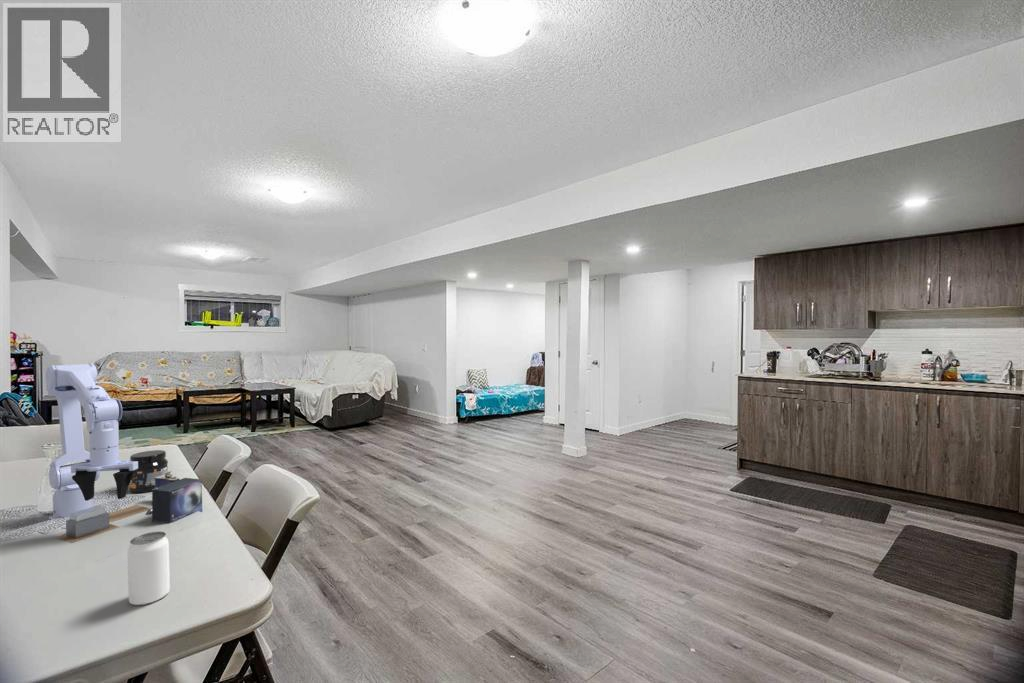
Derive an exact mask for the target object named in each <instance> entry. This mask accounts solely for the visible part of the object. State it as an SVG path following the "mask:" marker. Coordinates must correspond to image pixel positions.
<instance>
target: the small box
mask: <svg viewBox="0 0 1024 683" xmlns="http://www.w3.org/2000/svg"><path fill="white" fill-rule="evenodd" d="M179 479H180V478H179ZM151 495H152V496H151V498H152V499H151V500H152V502H151V509H152V514H151V518H152V520H151V522H152V523H160V524H161V523H162V524H171V523H174V522H178V521H179V520H181V519H184V518H186V517H189V516H191V515H193V514H195V513H197V512H198V513H199V512H200V513H203V479H201V478H200V479H199V478H189V477H183V478H181V479H180V480H177V481H174V482H171V483H169V484H166V485H163V486H160V487H157V488H154V489H152V491H151Z"/></svg>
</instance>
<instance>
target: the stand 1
mask: <svg viewBox="0 0 1024 683" xmlns="http://www.w3.org/2000/svg"><path fill="white" fill-rule="evenodd" d="M109 527H110V528H108V529H105V530H102V531H99V532H96V533H93V534H90V535H87V536H84V537H81V538H78V539H74V538H71V537H68V536H66V533H65V534H62V535H57V536H55V537H54V538H56V539H59V540H62V541H65V542H68V543H71V544H73V543H76V542H80V541H82V540H85V539H88V538H92V537H93V536H97V535H101V534H104V533H107V532H109V531H113V530H116V529H119V528H120V526H118V525H114V524H112V523H109Z"/></svg>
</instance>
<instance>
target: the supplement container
mask: <svg viewBox="0 0 1024 683" xmlns="http://www.w3.org/2000/svg"><path fill="white" fill-rule="evenodd" d="M166 457H167V452H166V451H165V450H163V449H162V450H161V449H157V450H147V451H145V450H144V451H141V452H137V453H133V454H131V455H130V457H129V461H138V469H137V470H136V472H135V474H134V476H133V477H132V479H131V481H130V484H129V487H128V489H129V491H130V492H132V493H134V494H143V493H150V492H151V493H152V489H154V488H155V479H154V478H155V477H158V476H165V474H164V473H166V472H169V471H168V464H169V461H168V459H167V458H166Z"/></svg>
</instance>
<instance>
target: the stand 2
mask: <svg viewBox="0 0 1024 683" xmlns="http://www.w3.org/2000/svg"><path fill="white" fill-rule="evenodd" d="M149 509H152V507H151V508H150V507H147V506H142V505H138V504H135V505H132V506H129V507H125V508H122V509H121V508H120V509H119V510H115V511H113V512H108V513H109V523H112V522H113V523H114V522H116V521H120V520H122V519H123V520H124V519H126V518H129V517H133V516H135V515H138V514H141V513H144V512H145V513H146V512H147V511H148V510H149Z"/></svg>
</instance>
